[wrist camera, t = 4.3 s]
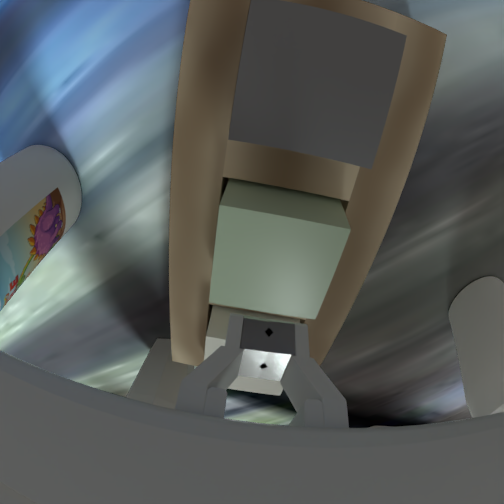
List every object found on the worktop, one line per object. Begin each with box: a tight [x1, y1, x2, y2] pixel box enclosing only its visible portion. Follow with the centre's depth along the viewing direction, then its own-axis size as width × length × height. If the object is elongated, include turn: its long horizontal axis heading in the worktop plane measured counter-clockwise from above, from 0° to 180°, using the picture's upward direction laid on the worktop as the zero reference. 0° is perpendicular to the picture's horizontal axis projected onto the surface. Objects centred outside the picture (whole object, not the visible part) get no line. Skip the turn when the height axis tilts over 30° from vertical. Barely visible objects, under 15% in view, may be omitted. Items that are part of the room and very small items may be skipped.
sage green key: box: [209, 178, 351, 320], centre depth 17 cm, size 6×6×4 cm
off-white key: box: [204, 305, 300, 396], centre depth 22 cm, size 6×6×4 cm
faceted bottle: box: [126, 338, 194, 409], centre depth 22 cm, size 6×6×22 cm
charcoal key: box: [228, 0, 407, 169], centre depth 12 cm, size 6×6×4 cm
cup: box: [449, 276, 504, 418], centre depth 20 cm, size 9×9×12 cm
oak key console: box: [169, 0, 447, 366], centre depth 19 cm, size 12×27×4 cm, turn 171°
